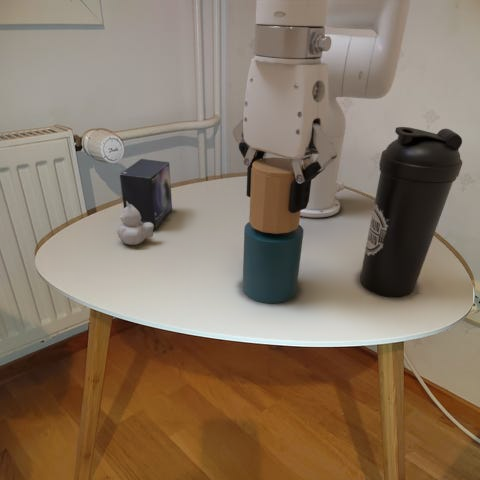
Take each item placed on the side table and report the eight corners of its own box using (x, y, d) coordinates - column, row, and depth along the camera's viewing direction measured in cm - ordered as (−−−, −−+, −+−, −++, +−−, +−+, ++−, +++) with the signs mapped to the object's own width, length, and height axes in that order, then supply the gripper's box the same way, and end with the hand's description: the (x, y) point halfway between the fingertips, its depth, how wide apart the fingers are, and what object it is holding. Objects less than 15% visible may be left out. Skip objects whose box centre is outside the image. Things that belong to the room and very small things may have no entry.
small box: (156, 231, 81) (151, 177, 74) (124, 228, 82) (116, 174, 75) (174, 211, 89) (170, 160, 83) (145, 208, 90) (139, 157, 84)
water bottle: (349, 266, 72) (379, 120, 58) (409, 268, 71) (453, 123, 58) (361, 299, 63) (399, 138, 50) (428, 302, 63) (485, 141, 50)
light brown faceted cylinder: (271, 210, 63) (275, 154, 58) (308, 223, 59) (315, 165, 54) (239, 222, 59) (241, 164, 54) (276, 238, 55) (281, 176, 50)
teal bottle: (267, 269, 70) (274, 170, 60) (307, 289, 65) (322, 184, 56) (231, 287, 65) (232, 182, 55) (271, 310, 61) (281, 200, 51)
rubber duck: (122, 236, 79) (115, 194, 74) (157, 236, 79) (153, 195, 74) (116, 249, 74) (108, 206, 70) (153, 249, 75) (148, 206, 70)
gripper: (375, 51, 44) (345, 213, 54) (254, 40, 53) (248, 180, 64) (334, 53, 39) (310, 230, 50) (210, 41, 49) (212, 192, 60)
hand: (276, 201), depth 57 cm, fingers closed on light brown faceted cylinder, 6 cm apart
